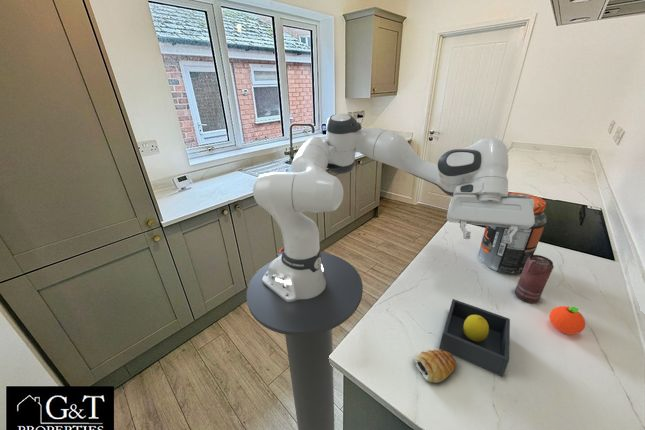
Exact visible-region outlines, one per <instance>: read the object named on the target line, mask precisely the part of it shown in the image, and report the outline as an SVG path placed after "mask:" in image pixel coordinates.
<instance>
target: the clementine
mask: <svg viewBox="0 0 645 430" xmlns="http://www.w3.org/2000/svg"><path fill="white" fill-rule="evenodd" d="M579 310H580V309H579V308H578V307H576V306H566V305H560V306H556V307H554V308H553V309H552V310H551V311H550V313H549V321H550V323H551V325H552V326H553V327H554V328H555V329H556V330H557V331H559V332H561V333H563V334H567V335H577V334H580V333H582V332H583V331H584V330H585V328H586V319H585V317H584V316H583V315H582V313H581V312H580V311H579Z"/></svg>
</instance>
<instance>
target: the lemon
mask: <svg viewBox="0 0 645 430" xmlns="http://www.w3.org/2000/svg"><path fill="white" fill-rule="evenodd" d="M463 330H464V333H465V335H466V336H467V337H468V338H469V339H470V340H472V341H475V342H481V341H483V340H485V339H486V338H487V336H488V333H489V325H488V323H487V321H486V320H485V319H484V318H483V317H482V316H479V315H470V316H468V317H467V319H466V320H465V321H464V325H463Z"/></svg>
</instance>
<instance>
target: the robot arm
mask: <svg viewBox="0 0 645 430" xmlns="http://www.w3.org/2000/svg"><path fill="white" fill-rule="evenodd" d="M325 130H326V135H325V139H324V138H323V137H320V136H313V137H310V138H308V139H307V140H306V141H304V142H303V144H302V145H301V147H300V148H298V150H297V153H296V155H295V156H294V158H293V160H292V161H291V164H290V170H291V172H288V171H287V172H285V171H274V172H268V173H263V174H260V175H259V176H258V177H257V178H256V179H255V181H254V183H253V187H252V194H253V198H254V201H255V202H256V204H257V205H258V206H259V207H260V208H262V209H263V210H265V211H266V212H267V213H268V214H269V215H270V216H271V217H272V218H273V220H274V221H275V222H276V224H277V225H278V227H279V230H280V233H281V236H282V241H283V246H282V248H280V249H279V250H278V251H277V252H278V253H276V258H275V259H273V260H271V261H272V262H271V261H270V262H271V264H270V265H269V268H268V271H267V272H266V273H265V274H264V276H263V278H262V282H263V283H264V284H265V285H267V286H268V287H269V288H270V289H272V290H273V291H274V292H275V293H277V294H278V295H279V296H280V297H282V298H283V299H284V300H285V301H287V302H292V301H295V300H300V299H310V298H313V297H316V296H318V295H319V294H321V293H322V292H323V290H324V289H325V287H326V280H325V277H324V274H323V267H322V264H321V260H322V256H321V252H322V246H321V245H320V230H319V229H320V228H319V226H318V225H317V223H316V222H315V221H314V220H313V219H312V218H311V217H308V216H307V215H305V214H304V213H314V214H315V213H316V214H320V213H328V212H335V211H336V210H337V209H338V208H339V207H340V206H341V204H342V203H343V199H344V196H345V195H344V194H345V193H344V187H343V184H342V182H341V180H340V179H339V177H337V176H335V175H334V174H330V173H329V172H328V171H330V172H332V173H335V174H336V175H337V174H338V175H344V174H348V173H350V172H351V171H353V169H354V168H355V163H356V153H359V154H361V155H362V156H365V157H367V158H368V159H370V160H374V161H376V162H379V163H381V164H385V165H388V166H391V167H393V168H395V169H398V170H401V171H403V172H406V173H407V174H409V175H412V176H414V177H416V178H419V179H421V180H424V181H426V182H428V183H431V184H433V185H435V186H436V187H438V188H439V189H440V190H441V191H442V192H443V193H444V194H445V195H447V196H450V197H451V199H450V201H449V205H448V207H447V212H446V220H447V222H449V223H455V224H459V228H460V230H461V232H462V233H463V237H462V238H463V239H465V240H470V239H471V233H472V232H471V231H468V229H467V228H466V226H467V225H477V226H485V227H486V226H496V227H507V228H509V231H510V232H511V233H510V234H509V236H504V243H507V244H511V243H512V236H513V235H514V234H515V233H516V231H517V230H518V229H529V228H530V227H532V226H533V225H534V223H535V218H534V211H533V209H534V200H533V199H532V198H531V197H529V196H528V195H517V194H508V192H509V180H508V176H507V173H508V171H509V152H508V148H507V145H506V144H505V143H504V142H503V141H502V140H501V139H498V138H494V137H485V138H481V139H479V140H478V141H476V142H475V143H473V144H471V145H469V146H465V147H462V148H455V149H454V148H453V149H450V150H448V151H446V152H445V153H443V154H442V155H441V156H440V157H439V159H438V161H437V164H436V163H433V162H431V161H428V160H425V159H423V158H422V157H421V156H420V155H418V154H417V153H416V152H415V151H414V149H413V148H412V146H411V145H410V143H409V142H408V140H407V139H406V137H405V136H403V135H401V134H399V133H397V132H395V131H391V130H388V129H383V128H378V127H363V128H362V124H361V123H360V122H358V120H357V119H356V118H355V117H353V116H352V115H351V114H347V113H336V114H332V115H330V116H329V117H328V118H327V121H326V126H325ZM327 169H328V171H327ZM528 198H529V199H528ZM287 296H288V297H287Z"/></svg>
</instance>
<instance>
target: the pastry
mask: <svg viewBox="0 0 645 430" xmlns="http://www.w3.org/2000/svg"><path fill="white" fill-rule="evenodd" d="M413 361H414V364H415V366H416V368H417V370H418V371H419V372H420V373H421V374H422V377H423V378H424V379H425V380H426V381H428V382H430V383H436V384H437V383H441V382H443V381H444V380H446V379H447V378H448V377H450V376H451V374H452V373H453V372H454V371H455V370H456V368H457V360H456V359H455V357H454V355H453V354H451V353H449V352H447V351H444V350H442V349H438V350H437V349H433V350H431V349H429V350H427V351H421V352H420V353H419V354H418V355H417V356H414V358H413Z"/></svg>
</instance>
